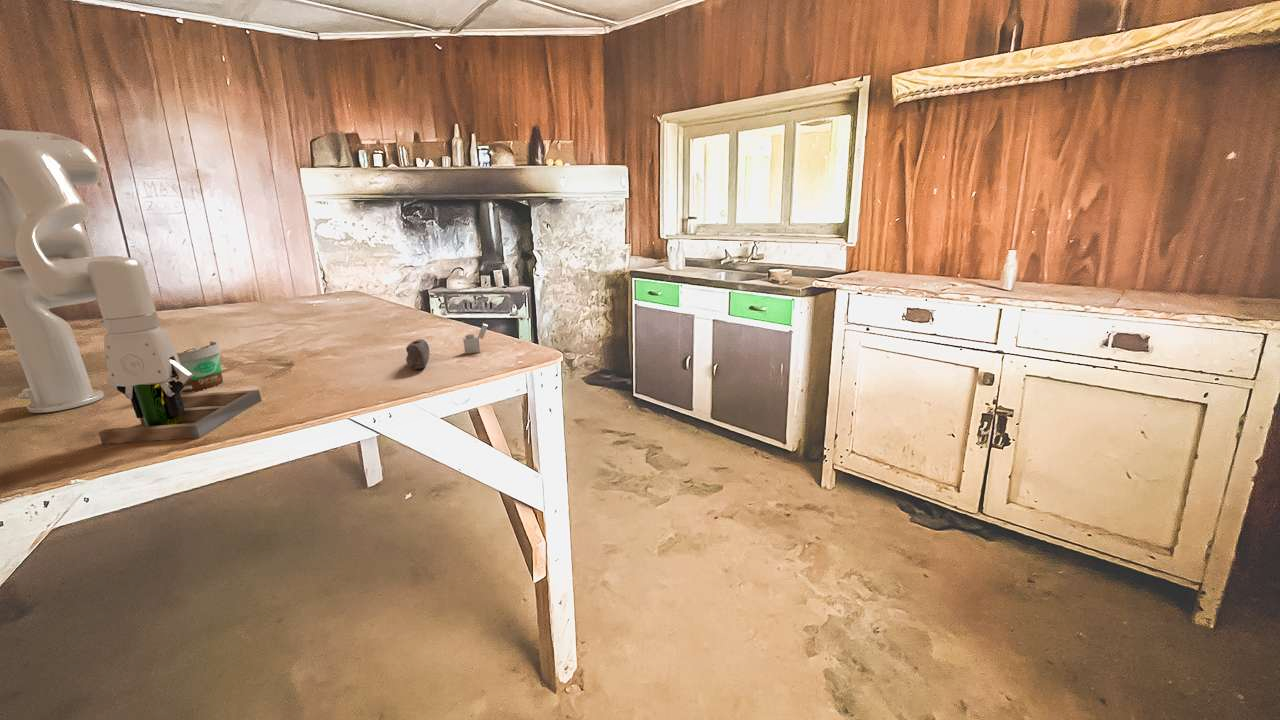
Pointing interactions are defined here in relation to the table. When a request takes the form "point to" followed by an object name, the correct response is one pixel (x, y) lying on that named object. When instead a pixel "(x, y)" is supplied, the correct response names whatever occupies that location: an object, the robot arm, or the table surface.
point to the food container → (202, 367)
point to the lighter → (474, 341)
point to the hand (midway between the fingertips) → (161, 413)
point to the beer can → (154, 405)
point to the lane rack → (189, 418)
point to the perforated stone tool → (417, 354)
